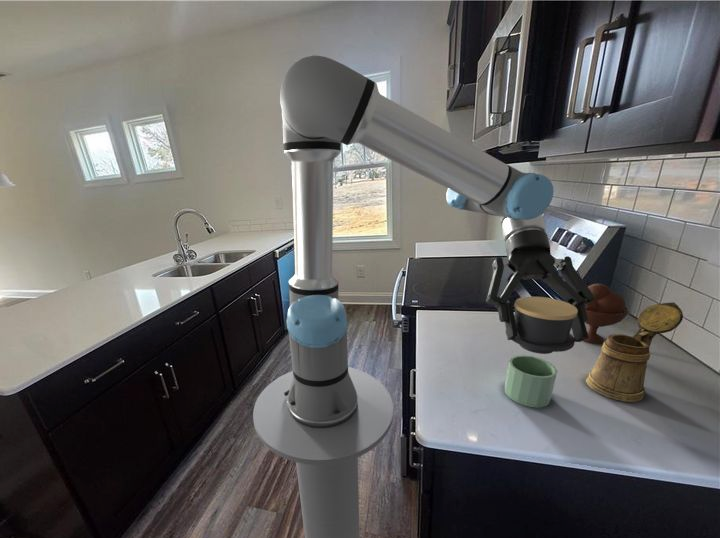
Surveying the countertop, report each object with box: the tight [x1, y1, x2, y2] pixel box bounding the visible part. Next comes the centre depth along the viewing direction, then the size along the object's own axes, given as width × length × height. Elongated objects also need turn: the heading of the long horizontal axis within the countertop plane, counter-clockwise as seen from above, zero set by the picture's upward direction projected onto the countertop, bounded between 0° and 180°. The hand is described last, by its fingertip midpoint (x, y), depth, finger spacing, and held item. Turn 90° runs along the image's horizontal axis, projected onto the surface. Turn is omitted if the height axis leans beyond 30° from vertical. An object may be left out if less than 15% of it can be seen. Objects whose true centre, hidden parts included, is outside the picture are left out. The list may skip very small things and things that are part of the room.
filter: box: [505, 296, 578, 355], centre depth 60 cm, size 11×11×9 cm
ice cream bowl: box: [582, 283, 629, 345], centre depth 82 cm, size 11×11×15 cm
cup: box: [504, 354, 558, 408], centre depth 65 cm, size 8×8×7 cm
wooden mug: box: [585, 301, 684, 403], centre depth 63 cm, size 9×14×18 cm, turn 103°
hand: (546, 338), depth 58 cm, fingers closed on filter, 11 cm apart
